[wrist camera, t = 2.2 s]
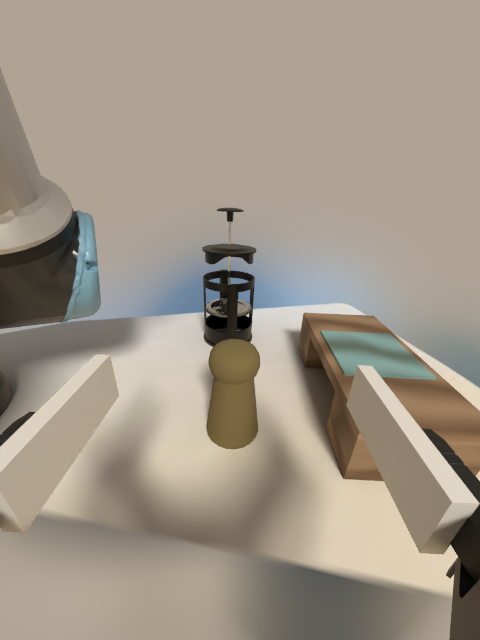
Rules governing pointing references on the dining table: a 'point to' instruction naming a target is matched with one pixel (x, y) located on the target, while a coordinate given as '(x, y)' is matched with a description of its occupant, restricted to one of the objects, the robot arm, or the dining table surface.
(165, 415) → the dining table surface
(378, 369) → the wooden block
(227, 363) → the cork
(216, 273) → the french press
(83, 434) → the robot arm
